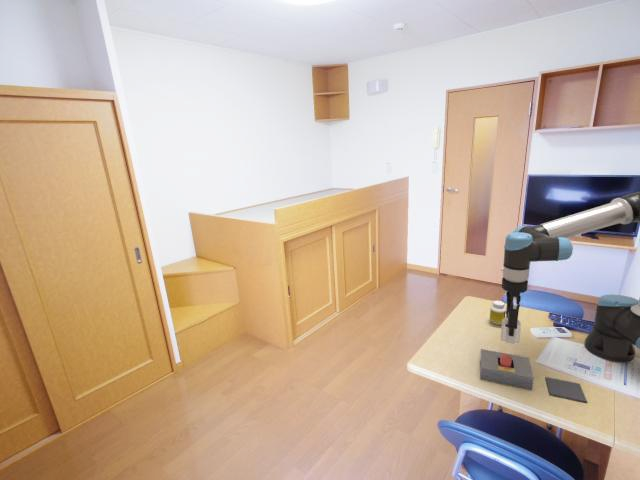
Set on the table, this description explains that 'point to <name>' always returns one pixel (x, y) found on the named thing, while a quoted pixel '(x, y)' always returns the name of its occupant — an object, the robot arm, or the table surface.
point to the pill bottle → (497, 313)
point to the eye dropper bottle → (503, 329)
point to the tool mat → (565, 389)
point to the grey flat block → (506, 370)
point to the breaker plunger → (505, 360)
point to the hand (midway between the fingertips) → (509, 339)
